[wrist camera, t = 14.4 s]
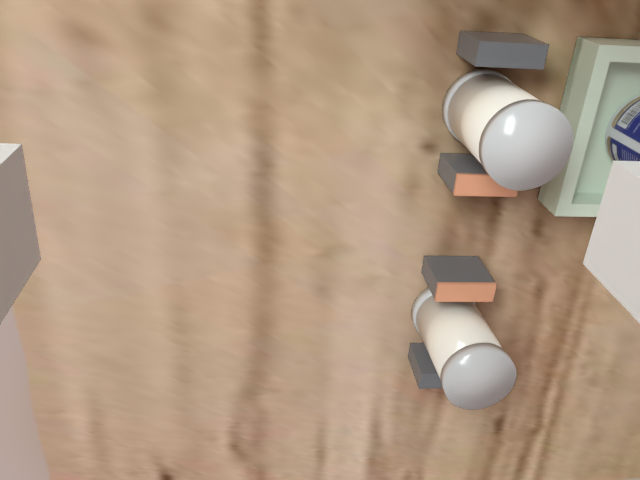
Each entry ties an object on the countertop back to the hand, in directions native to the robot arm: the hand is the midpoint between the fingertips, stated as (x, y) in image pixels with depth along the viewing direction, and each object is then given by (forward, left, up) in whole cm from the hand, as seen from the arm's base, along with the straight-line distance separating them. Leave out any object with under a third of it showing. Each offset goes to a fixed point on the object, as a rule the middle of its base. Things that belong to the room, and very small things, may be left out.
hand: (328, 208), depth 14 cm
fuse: (+5, +14, -29) cm, 32 cm away
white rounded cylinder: (+22, +14, -29) cm, 39 cm away
